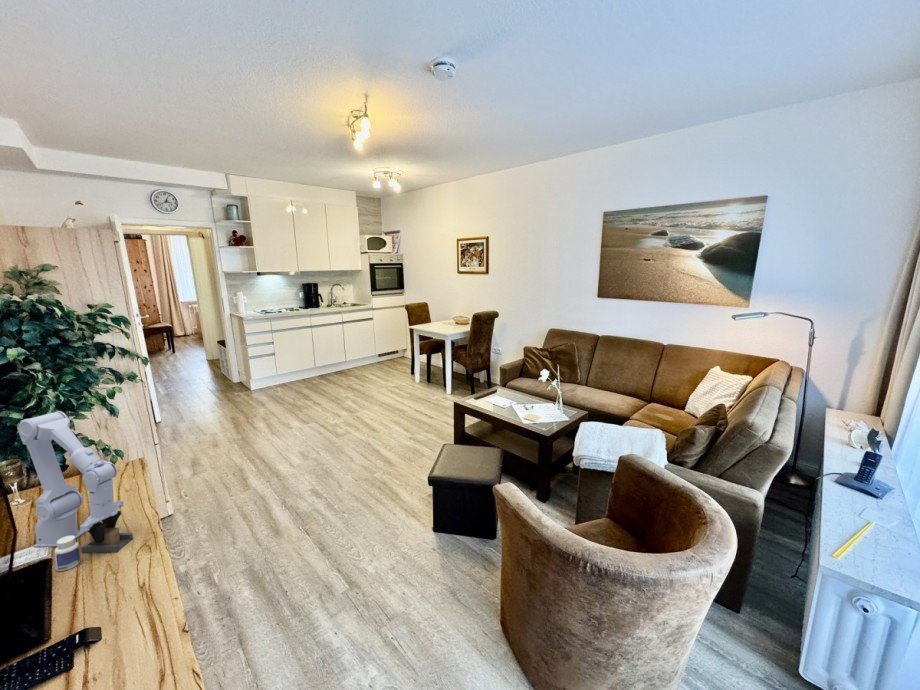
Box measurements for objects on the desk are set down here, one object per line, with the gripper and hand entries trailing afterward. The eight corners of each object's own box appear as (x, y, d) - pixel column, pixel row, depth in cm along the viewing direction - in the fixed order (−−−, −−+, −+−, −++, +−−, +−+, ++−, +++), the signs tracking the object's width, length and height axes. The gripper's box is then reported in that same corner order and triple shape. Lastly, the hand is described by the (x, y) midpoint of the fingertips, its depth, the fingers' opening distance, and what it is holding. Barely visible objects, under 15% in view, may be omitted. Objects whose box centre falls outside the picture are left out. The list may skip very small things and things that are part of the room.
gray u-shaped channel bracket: (81, 553, 121) (80, 547, 121) (99, 539, 128) (99, 533, 128) (116, 552, 122) (116, 546, 122) (132, 538, 129) (132, 533, 129)
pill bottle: (84, 562, 117) (82, 536, 116) (62, 573, 112) (59, 546, 111) (73, 557, 119) (71, 532, 118) (51, 568, 114) (49, 542, 113)
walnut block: (91, 548, 123) (90, 534, 122) (100, 541, 126) (99, 527, 126) (111, 547, 123) (110, 533, 123) (119, 540, 127) (119, 527, 126)
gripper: (96, 512, 116) (99, 552, 118) (131, 489, 130) (133, 524, 132) (71, 513, 115) (74, 553, 117) (109, 489, 130) (112, 525, 131)
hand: (104, 538), depth 124 cm, fingers closed on walnut block, 3 cm apart
